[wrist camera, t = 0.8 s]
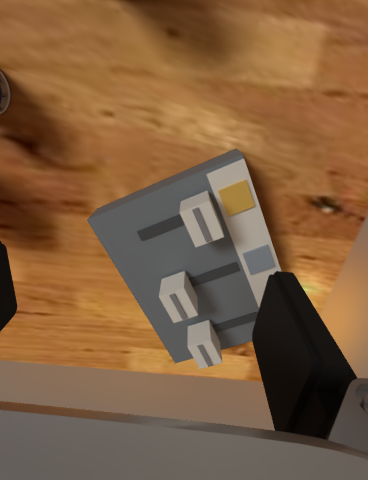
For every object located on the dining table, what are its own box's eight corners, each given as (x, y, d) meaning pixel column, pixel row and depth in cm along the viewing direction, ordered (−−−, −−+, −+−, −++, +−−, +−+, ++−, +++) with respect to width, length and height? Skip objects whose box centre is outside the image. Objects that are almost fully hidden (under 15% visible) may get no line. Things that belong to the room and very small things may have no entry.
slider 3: (209, 319, 36) (210, 341, 32) (219, 341, 37) (222, 363, 34) (187, 326, 36) (187, 348, 33) (199, 347, 38) (199, 370, 34)
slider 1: (184, 270, 33) (183, 289, 29) (197, 296, 34) (198, 316, 31) (161, 279, 33) (158, 297, 30) (175, 303, 35) (173, 324, 31)
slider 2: (207, 190, 28) (209, 201, 25) (220, 223, 30) (224, 237, 27) (180, 201, 29) (179, 213, 26) (195, 233, 30) (195, 248, 27)
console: (236, 148, 31) (243, 154, 27) (289, 307, 40) (300, 329, 36) (98, 208, 34) (85, 221, 30) (176, 342, 43) (175, 366, 39)
